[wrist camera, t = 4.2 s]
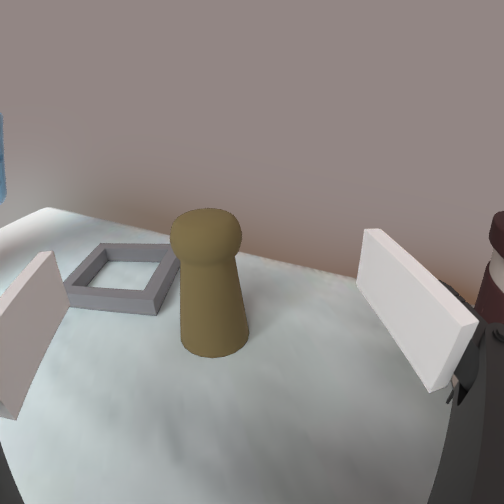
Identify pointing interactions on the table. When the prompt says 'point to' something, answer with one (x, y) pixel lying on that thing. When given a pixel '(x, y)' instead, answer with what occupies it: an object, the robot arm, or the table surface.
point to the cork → (209, 282)
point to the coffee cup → (492, 279)
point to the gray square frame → (122, 298)
